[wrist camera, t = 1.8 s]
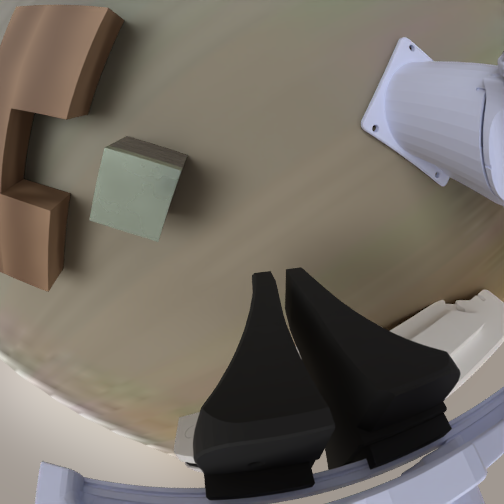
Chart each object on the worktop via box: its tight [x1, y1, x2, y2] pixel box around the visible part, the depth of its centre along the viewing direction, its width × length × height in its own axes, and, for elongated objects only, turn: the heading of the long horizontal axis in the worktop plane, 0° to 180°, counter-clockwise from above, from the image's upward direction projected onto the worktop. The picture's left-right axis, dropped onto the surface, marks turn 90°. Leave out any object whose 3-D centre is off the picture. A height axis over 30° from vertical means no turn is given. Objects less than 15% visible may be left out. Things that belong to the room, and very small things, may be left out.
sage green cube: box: [90, 136, 188, 242], centre depth 15 cm, size 4×4×4 cm
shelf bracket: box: [296, 289, 504, 399], centre depth 24 cm, size 6×25×13 cm, turn 97°
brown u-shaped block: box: [0, 5, 124, 292], centre depth 13 cm, size 7×18×3 cm, turn 157°
